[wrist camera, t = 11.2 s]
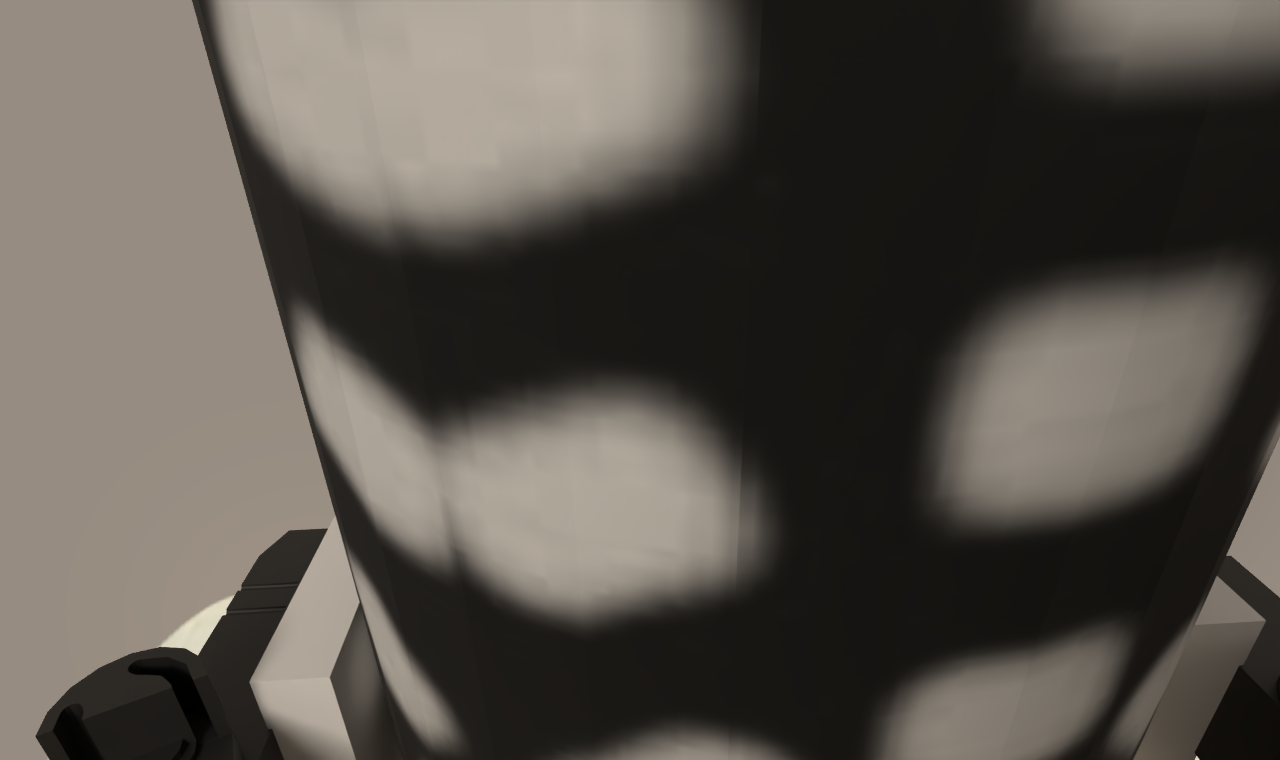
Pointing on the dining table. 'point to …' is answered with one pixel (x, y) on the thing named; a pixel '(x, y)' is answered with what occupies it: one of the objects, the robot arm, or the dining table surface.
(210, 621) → the dining table surface
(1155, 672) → the white-spotted black cylinder
